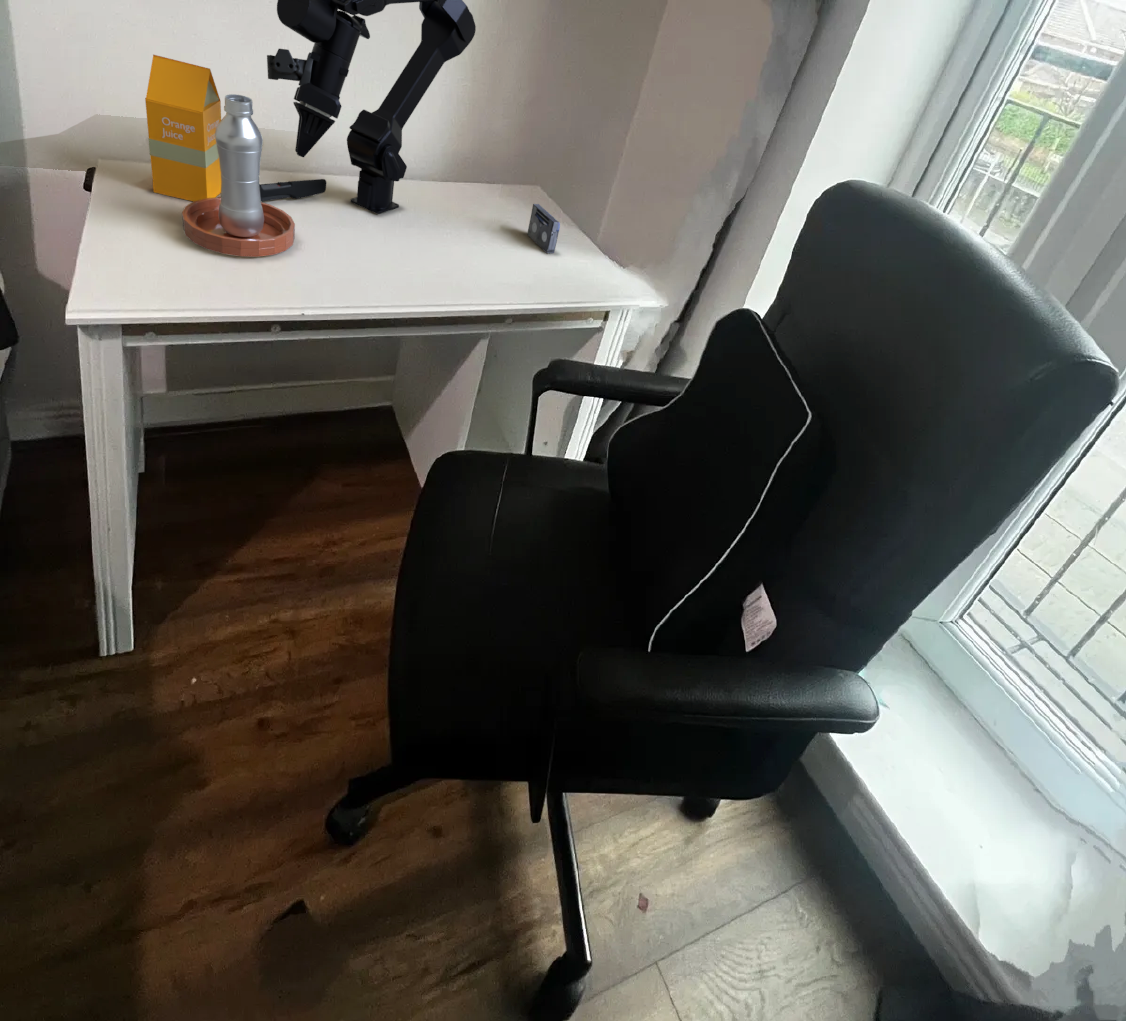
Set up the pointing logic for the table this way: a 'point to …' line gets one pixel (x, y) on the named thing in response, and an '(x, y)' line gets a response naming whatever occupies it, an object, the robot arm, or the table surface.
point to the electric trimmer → (292, 189)
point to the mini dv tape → (543, 229)
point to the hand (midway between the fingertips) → (299, 154)
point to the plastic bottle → (239, 168)
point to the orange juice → (183, 130)
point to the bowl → (209, 234)
